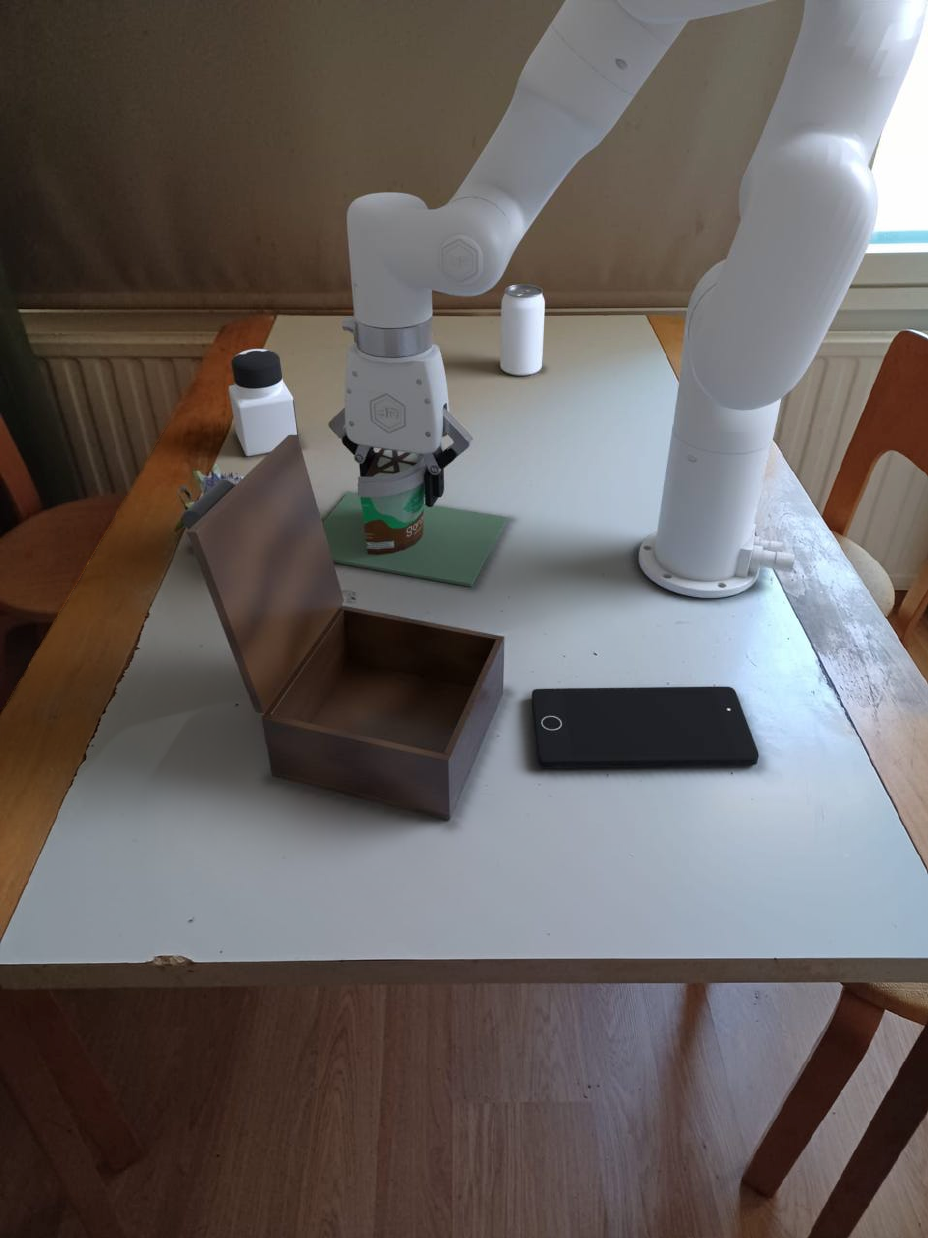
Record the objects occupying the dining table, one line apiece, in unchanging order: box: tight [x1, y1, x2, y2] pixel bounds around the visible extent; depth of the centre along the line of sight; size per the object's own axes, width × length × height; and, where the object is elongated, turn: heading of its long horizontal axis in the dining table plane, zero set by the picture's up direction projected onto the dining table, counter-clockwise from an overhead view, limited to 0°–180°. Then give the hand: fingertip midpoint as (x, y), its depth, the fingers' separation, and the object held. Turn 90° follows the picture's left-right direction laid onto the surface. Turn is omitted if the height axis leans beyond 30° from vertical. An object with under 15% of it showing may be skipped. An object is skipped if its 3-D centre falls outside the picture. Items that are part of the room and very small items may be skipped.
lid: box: [181, 434, 345, 715], centre depth 71 cm, size 16×15×5 cm
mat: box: [322, 491, 508, 588], centre depth 102 cm, size 20×14×1 cm
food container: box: [357, 448, 428, 555], centre depth 99 cm, size 12×6×10 cm, turn 168°
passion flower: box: [174, 464, 245, 532], centre depth 98 cm, size 11×11×12 cm
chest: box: [260, 604, 506, 821], centre depth 75 cm, size 15×15×7 cm
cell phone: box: [531, 686, 760, 769], centre depth 77 cm, size 9×18×1 cm, turn 91°
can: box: [499, 283, 546, 377], centre depth 137 cm, size 6×6×12 cm
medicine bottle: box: [228, 348, 300, 457], centre depth 118 cm, size 7×7×12 cm
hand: (402, 494), depth 99 cm, fingers closed on food container, 6 cm apart
